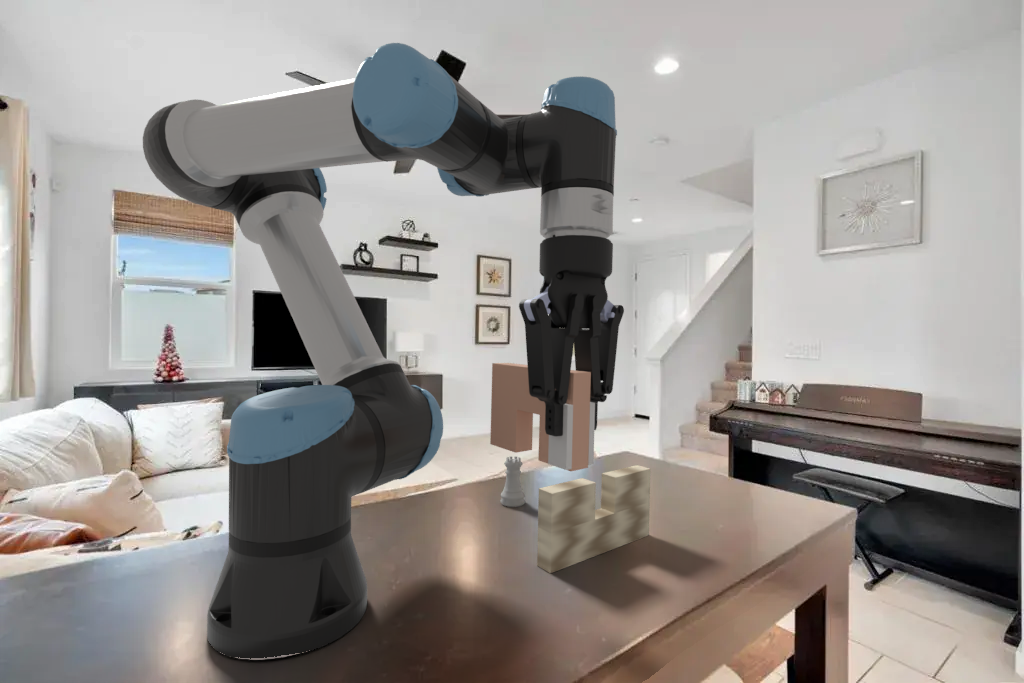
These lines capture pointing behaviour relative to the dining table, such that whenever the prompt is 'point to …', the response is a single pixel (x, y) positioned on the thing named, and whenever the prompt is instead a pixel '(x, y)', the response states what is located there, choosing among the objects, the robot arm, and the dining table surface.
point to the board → (591, 517)
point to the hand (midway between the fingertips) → (570, 463)
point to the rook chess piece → (513, 484)
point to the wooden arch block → (535, 412)
